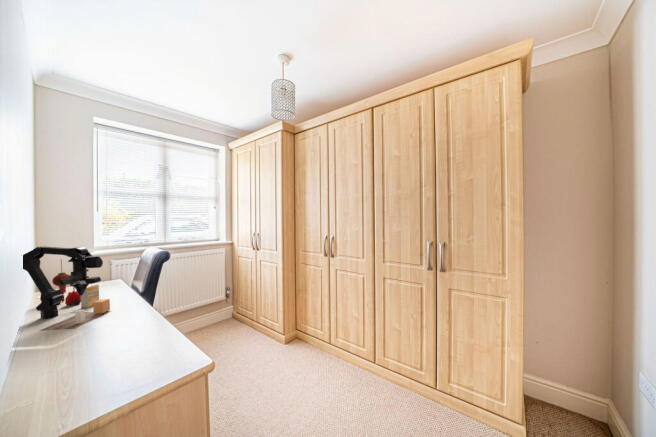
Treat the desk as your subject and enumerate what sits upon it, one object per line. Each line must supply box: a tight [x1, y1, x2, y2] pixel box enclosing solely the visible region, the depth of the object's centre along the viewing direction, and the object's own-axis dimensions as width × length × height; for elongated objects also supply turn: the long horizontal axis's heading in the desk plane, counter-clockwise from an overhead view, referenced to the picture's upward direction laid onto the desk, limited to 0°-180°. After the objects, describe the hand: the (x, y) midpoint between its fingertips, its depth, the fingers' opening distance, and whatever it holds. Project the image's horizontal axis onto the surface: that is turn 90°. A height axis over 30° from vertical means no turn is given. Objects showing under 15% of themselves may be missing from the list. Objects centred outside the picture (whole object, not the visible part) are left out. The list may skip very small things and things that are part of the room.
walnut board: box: [39, 310, 112, 332], centre depth 141 cm, size 17×24×1 cm
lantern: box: [52, 260, 71, 303], centre depth 177 cm, size 10×10×30 cm
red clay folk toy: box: [64, 287, 81, 307], centre depth 170 cm, size 8×7×15 cm
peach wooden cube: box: [92, 298, 111, 314], centre depth 151 cm, size 5×5×7 cm
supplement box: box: [80, 283, 100, 309], centre depth 167 cm, size 8×5×13 cm, turn 179°
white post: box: [75, 308, 86, 324], centre depth 137 cm, size 3×3×8 cm
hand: (81, 295), depth 149 cm, fingers closed
